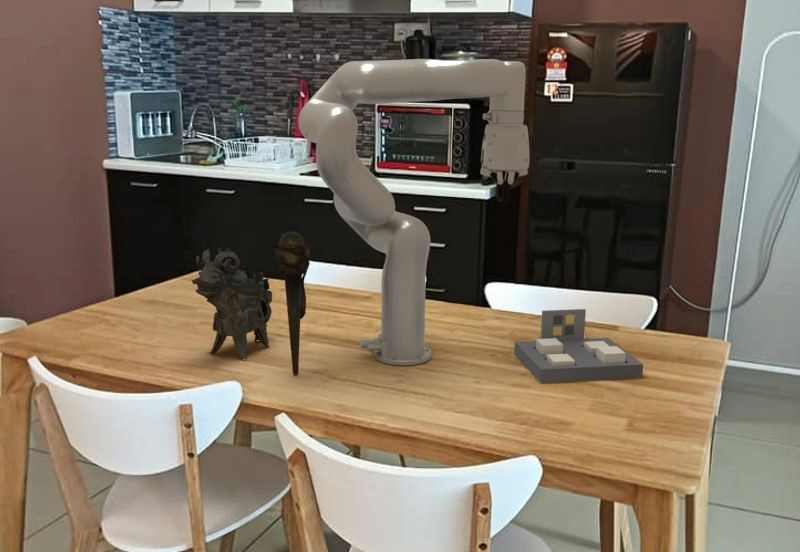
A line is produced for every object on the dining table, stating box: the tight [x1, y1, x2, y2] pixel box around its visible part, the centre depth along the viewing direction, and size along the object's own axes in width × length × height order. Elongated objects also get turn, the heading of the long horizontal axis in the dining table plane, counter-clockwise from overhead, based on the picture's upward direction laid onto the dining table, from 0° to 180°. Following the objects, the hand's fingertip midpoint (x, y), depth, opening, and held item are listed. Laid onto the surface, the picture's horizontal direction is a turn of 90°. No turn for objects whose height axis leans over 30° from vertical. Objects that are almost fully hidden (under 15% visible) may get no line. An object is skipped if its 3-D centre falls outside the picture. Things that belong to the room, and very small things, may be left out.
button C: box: [535, 338, 563, 355], centre depth 179 cm, size 4×4×2 cm
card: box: [540, 308, 587, 341], centre depth 186 cm, size 10×1×7 cm, turn 100°
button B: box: [596, 346, 626, 364], centre depth 174 cm, size 4×4×2 cm
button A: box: [546, 354, 575, 367], centre depth 173 cm, size 4×4×2 cm
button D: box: [583, 341, 610, 353], centre depth 181 cm, size 4×4×2 cm
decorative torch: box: [274, 231, 311, 376], centre depth 169 cm, size 7×7×30 cm
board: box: [513, 337, 644, 384], centre depth 179 cm, size 22×18×3 cm
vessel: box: [191, 247, 273, 360], centre depth 183 cm, size 11×25×24 cm, turn 155°
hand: (503, 201), depth 188 cm, fingers closed
